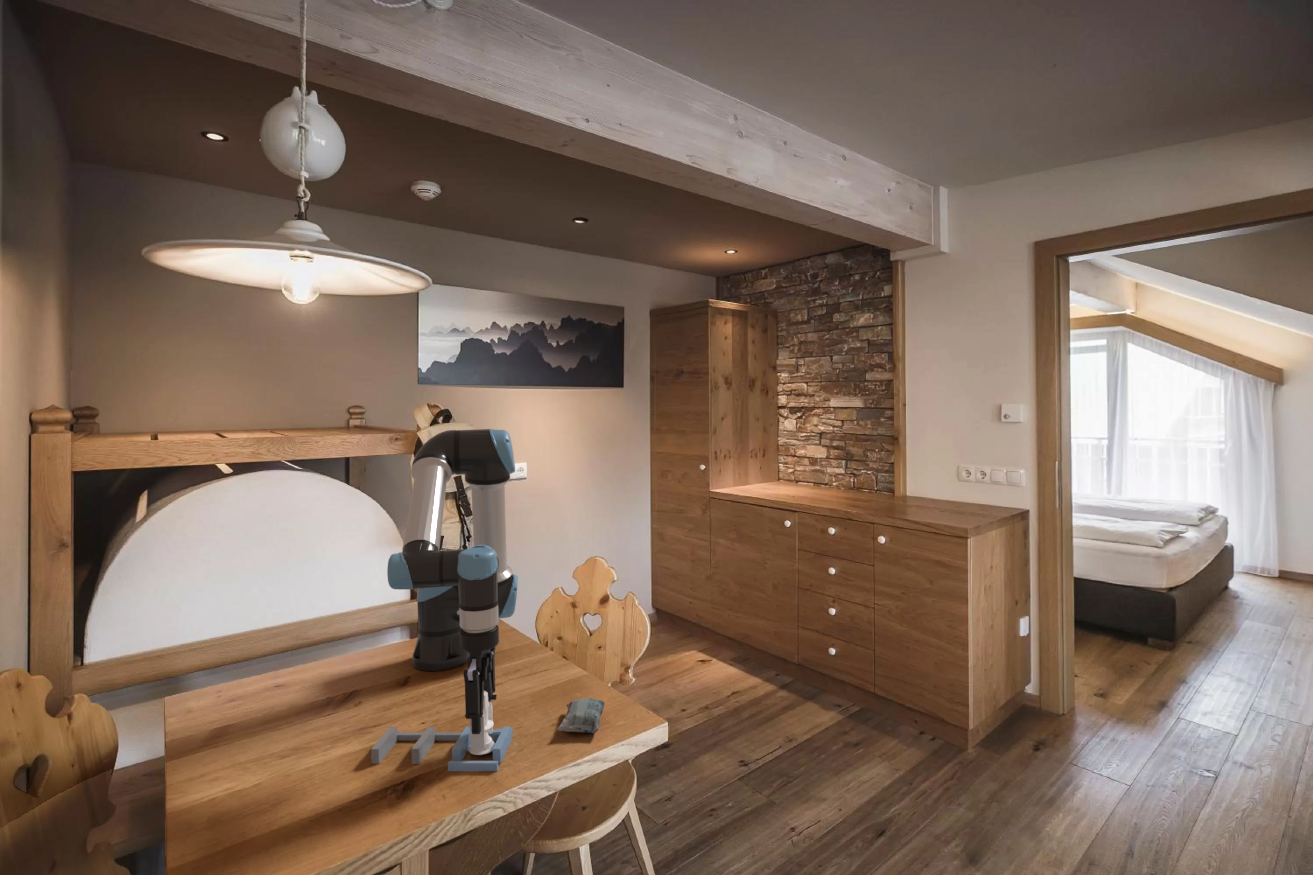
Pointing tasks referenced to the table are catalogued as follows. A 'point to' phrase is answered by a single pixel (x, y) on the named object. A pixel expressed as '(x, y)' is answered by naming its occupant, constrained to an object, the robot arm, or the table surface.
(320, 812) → the table surface
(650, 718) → the table surface
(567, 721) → the packaged food
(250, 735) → the table surface
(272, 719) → the table surface
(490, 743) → the candle
